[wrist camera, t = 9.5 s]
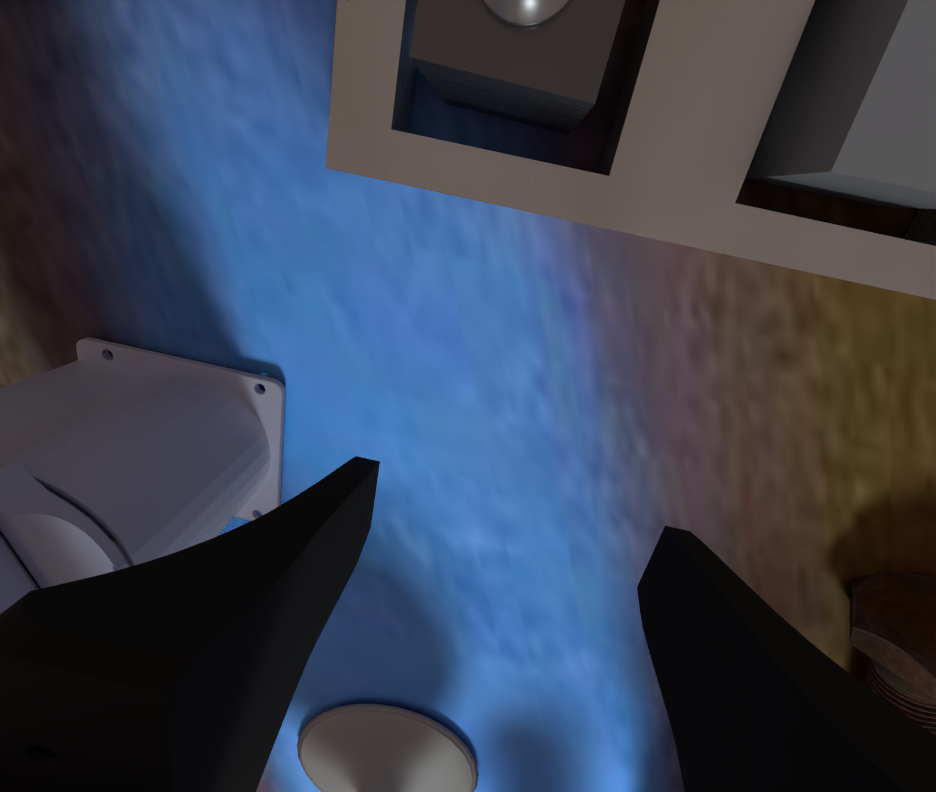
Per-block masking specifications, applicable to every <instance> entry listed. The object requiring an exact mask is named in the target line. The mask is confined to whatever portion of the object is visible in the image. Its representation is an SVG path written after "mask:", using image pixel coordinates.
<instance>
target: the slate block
mask: <svg viewBox="0 0 936 792" xmlns="http://www.w3.org/2000/svg"><path fill="white" fill-rule="evenodd" d="M746 179H749V180H754V181H759V182H764V183H769V184H774V185H779V186H784V187H789V188H793V189H798V190H803V191H808V192H813V193H818V194H823V195H828V196H833V197H838V198H842V199H847V200H852V201H857V202H862V203H867V204H872V205H877V206H882V207H887V208H918V209H936V0H819V1H817V2H816V3H814V5H813V8H812V10H811V13H810V15H809V18H808V21H807V23H806V26H805V28H804V31H803V33H802V36H801V39H800V41H799V44H798V46H797V49H796V51H795V54H794V57H793V59H792V62H791V64H790V67H789V69H788V72H787V75H786V77H785V80H784V82H783V85H782V87H781V90H780V93H779V95H778V98H777V100H776V103H775V105H774V108H773V111H772V113H771V116H770V118H769V121H768V124H767V126H766V129H765V131H764V134H763V136H762V139H761V142H760V144H759V147H758V149H757V152H756V154H755V157H754V160H753V162H752V165H751V167H750V170H749V172H748V175H747V178H746Z"/></svg>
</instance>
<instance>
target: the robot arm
mask: <svg viewBox="0 0 936 792" xmlns="http://www.w3.org/2000/svg"><path fill="white" fill-rule="evenodd" d="M76 351H77V357H78V360H77V361H74V362H72V363H69V364H66V365H63V366H61V367H58V368H55V369H53V370H50V371H47V372H44V373H42V374H39V375H36V376H34V377H31V378H28V379H26V380H23V381H20V382H17V383H15V384H12V385H9V386H7V387H4V388H1V389H0V792H256V790H257V787H258V785H259V782H260V779H261V777H262V774H263V771H264V769H265V766H266V763H267V761H268V758H269V756H270V753H271V750H272V748H273V745H274V743H275V740H276V738H277V735H278V733H279V730H280V728H281V725H282V722H283V720H284V717H285V715H286V712H287V710H288V707H289V705H290V702H291V700H292V697H293V695H294V692H295V690H296V687H297V685H298V683H299V680H300V678H301V675H302V673H303V670H304V668H305V665H306V663H307V661H308V659H309V656H310V654H311V652H312V650H313V648H314V646H315V644H316V642H317V640H318V638H319V636H320V634H321V632H322V630H323V628H324V626H325V624H326V622H327V620H328V618H329V617H330V615H331V613H332V611H333V609H334V607H335V605H336V603H337V601H338V599H339V597H340V595H341V593H342V592H343V590H344V588H345V586H346V584H347V582H348V580H349V578H350V576H351V574H352V572H353V570H354V568H355V566H356V564H357V562H358V559H359V557H360V554H361V552H362V549H363V546H364V544H365V541H366V538H367V535H368V533H369V530H370V527H371V520H372V513H373V506H374V499H375V492H376V485H377V478H378V471H379V464H380V462H379V461H375V460H370V459H366V458H361V457H357V456H356V457H354V458H352V459H351V460H349V461H348V462H346V463H345V464H343V465H342V466H341V467H339V468H338V469H336V470H335V471H333V472H332V473H331V474H329V475H328V476H326V477H325V478H323V479H322V480H320V481H319V482H317V483H316V484H314V485H313V486H311V487H310V488H308V489H307V490H305V491H303V492H302V493H300V494H299V495H297V496H296V497H294V498H292V499H291V500H289V501H287V502H285V503H284V504H282V505H280V498H281V475H282V452H283V429H284V406H285V387H284V385H283V384H282V382H280V381H279V380H277V379H275V378H270V377H266V376H261V375H257V374H252V373H248V372H243V371H239V370H234V369H230V368H226V367H221V366H217V365H212V364H208V363H203V362H199V361H194V360H190V359H185V358H181V357H176V356H172V355H167V354H163V353H158V352H154V351H149V350H145V349H140V348H136V347H131V346H127V345H122V344H118V343H113V342H109V341H104V340H100V339H95V338H90V337H87V338H84V339H81V340H79V341H78V342H77V343H76ZM109 351H110V352H111V353H112V354H113V357H112V356H111V355H110V353H109ZM258 384H262V385H263V386H264V387H265V390H266V391H263V390H261V389H260V388H259V385H258ZM257 510H258V511H260V512H261V513H262V514H260V513H258V512H257ZM233 517H238V518H243V519H247V520H252V521H251V522H249V523H246V524H244V525H242V526H240V527H238V528H235V529H233V530H231V531H229V532H227V533H224V534H222V535H220V536H217V535H218V534H219V533H220V532H221V531H222V530H223V528H224V527H225V526H226V525H227V524H228V523H229V522H230V521H231V520H232V518H233ZM216 536H217V537H216ZM637 590H638V598H639V606H640V613H641V619H642V625H643V630H644V633H645V637H646V641H647V644H648V648H649V651H650V655H651V659H652V662H653V665H654V669H655V672H656V676H657V679H658V683H659V686H660V689H661V693H662V696H663V700H664V703H665V707H666V710H667V713H668V717H669V720H670V724H671V728H672V732H673V736H674V740H675V744H676V748H677V753H678V758H679V763H680V768H681V773H682V779H683V784H684V789H685V792H936V735H934V734H933V733H931V732H930V731H928V730H927V729H925V728H924V727H922V726H921V725H919V724H918V723H916V722H915V721H914V720H912V719H911V718H909V717H908V716H906V715H905V714H904V713H902V712H901V711H899V710H898V709H897V708H895V707H894V706H892V705H891V704H889V703H888V702H887V701H885V700H884V699H882V698H881V697H880V696H878V695H877V694H875V693H874V692H873V691H871V690H870V689H869V688H867V687H866V686H865V685H863V684H862V683H861V682H859V681H858V680H857V679H855V678H854V677H853V676H852V675H850V674H849V673H848V672H847V671H845V670H844V669H843V668H841V667H840V666H839V665H838V664H836V663H835V662H834V661H833V660H831V659H830V658H829V657H828V656H826V655H825V654H824V653H822V652H821V651H820V650H819V649H818V648H816V647H815V646H814V645H813V644H812V643H810V642H809V641H808V640H807V639H806V638H805V637H803V636H802V635H801V634H800V633H799V632H798V631H797V630H796V629H794V628H793V627H792V626H791V625H790V624H789V623H788V622H786V621H785V620H784V619H783V618H782V617H781V616H780V615H779V614H777V613H776V612H775V611H774V610H773V609H772V608H771V607H770V606H769V605H768V604H767V603H766V602H764V601H763V600H762V599H761V598H760V597H759V596H758V595H757V594H756V593H755V592H754V591H753V590H752V589H751V588H750V587H749V586H748V585H747V584H746V583H744V582H743V581H742V580H741V579H740V578H739V577H738V576H737V575H736V574H735V573H734V572H733V571H732V570H731V569H730V568H729V567H728V566H727V565H726V564H725V563H724V562H723V561H722V560H721V559H720V558H719V557H718V556H717V555H716V554H715V553H714V552H712V551H711V550H710V549H709V548H708V547H707V546H706V545H705V544H704V543H703V542H702V541H701V540H700V539H698V538H697V537H696V536H695V535H694V534H692V533H691V532H690V531H686V530H682V529H677V528H673V527H668V526H665V528H664V530H663V532H662V534H661V536H660V538H659V541H658V543H657V545H656V547H655V549H654V552H653V554H652V556H651V558H650V560H649V563H648V565H647V567H646V569H645V571H644V573H643V576H642V578H641V580H640V582H639V584H638V587H637Z"/></svg>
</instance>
